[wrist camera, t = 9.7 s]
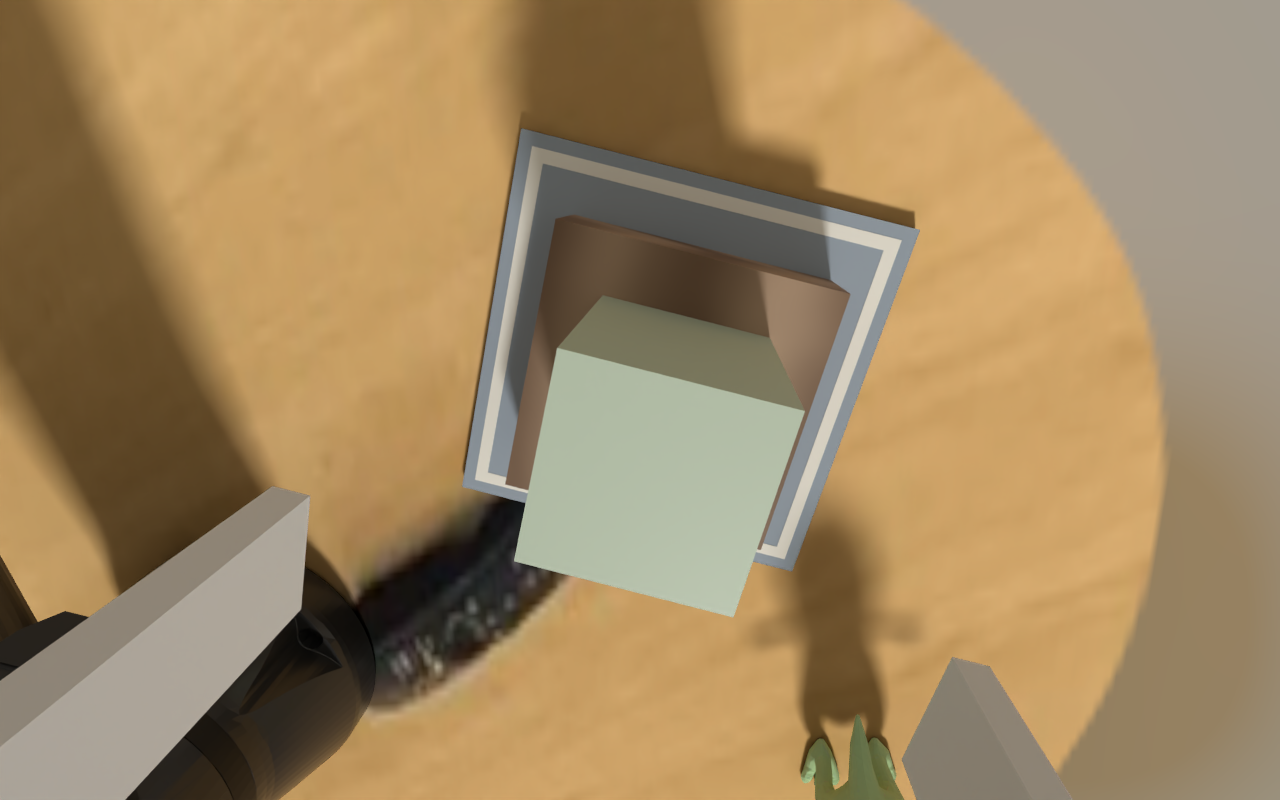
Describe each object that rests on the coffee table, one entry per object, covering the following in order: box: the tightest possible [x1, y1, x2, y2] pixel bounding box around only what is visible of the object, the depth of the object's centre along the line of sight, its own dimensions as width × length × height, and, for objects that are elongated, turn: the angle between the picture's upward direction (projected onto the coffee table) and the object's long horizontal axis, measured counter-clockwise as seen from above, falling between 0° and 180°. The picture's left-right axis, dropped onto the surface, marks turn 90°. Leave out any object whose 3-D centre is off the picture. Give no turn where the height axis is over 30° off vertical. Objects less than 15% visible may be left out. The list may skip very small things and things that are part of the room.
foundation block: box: [505, 215, 851, 550], centre depth 29 cm, size 12×12×4 cm
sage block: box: [514, 295, 805, 617], centre depth 23 cm, size 7×7×9 cm
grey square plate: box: [462, 128, 920, 571], centre depth 31 cm, size 18×18×1 cm
